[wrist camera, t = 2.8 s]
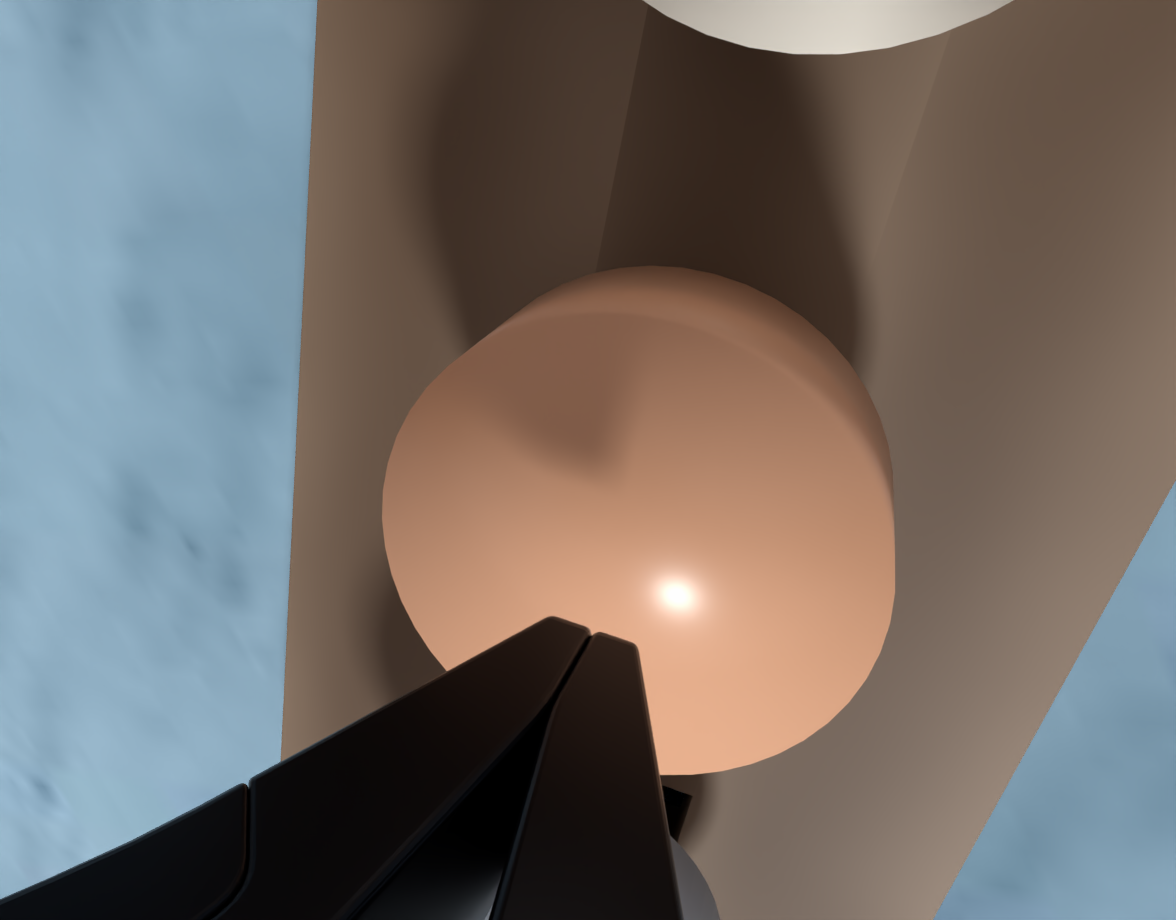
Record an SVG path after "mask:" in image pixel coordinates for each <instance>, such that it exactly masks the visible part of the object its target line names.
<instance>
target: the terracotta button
mask: <svg viewBox="0 0 1176 920" xmlns="http://www.w3.org/2000/svg"><path fill="white" fill-rule="evenodd" d="M382 524H383V533H384V542H385V549H386V553H387V558H388V562H389V566H390V570H391V574H392V577H393V580H394V582H395V585H396V588H397V591H398V593H399V596H400V599H401V601H402V603H403V605H404V607H405V609H406V611H407V613H408V615H409V617H410V619H411V621H412V623H413V625H414V627H415V628H416V630H417V631H418V633H419V635H420V636H421V638H422V639H423V641H424V642H425V644H426V645H427V647H428V648H429V650H430V651H431V653H432V654H433V655H434V656H435V657H436V659H437V660H438V661H439V662H440V664H441V665H442V666H443V667H444V668H445V670H446V671H448V670H450V669H452V668H454V667H456V666H457V665H459V664H461V663H463V662H465V661H467V660H468V659H470V658H472V657H474V656H476V655H478V654H479V653H481V652H483V651H485V650H487V649H489V648H490V647H492V646H494V645H496V644H498V643H500V642H501V641H503V640H505V639H507V638H509V637H511V636H512V635H514V634H516V633H518V632H520V631H522V630H523V629H525V628H527V627H529V626H531V625H533V624H534V623H536V622H538V621H540V620H542V619H544V618H546V617H548V616H557V617H560V618H563V619H566V620H569V621H572V622H574V623H577V624H580V625H583V626H586V627H588V628H589V629H590V630H591V634H592V635H593V634H594V633H596V632H604V633H607V634H610V635H613V636H616V637H619V638H622V639H624V640H627V641H630V642H633V643H634V644H636V646H637V647H638V650H639V654H640V660H641V666H642V672H643V678H644V684H645V690H646V696H647V702H648V708H649V714H650V720H651V726H652V731H653V737H654V743H655V749H656V755H657V761H658V767H659V773H660V775H694V774H703V773H711V772H719V771H725V770H729V769H733V768H737V767H742V766H746V765H750V764H753V763H756V762H758V761H761V760H764V759H766V758H769V757H772V756H774V755H777V754H779V753H781V752H783V751H785V750H787V749H789V748H791V747H792V746H794V745H796V744H798V743H800V742H802V741H804V740H805V739H807V738H808V737H809V736H811V735H812V734H814V733H815V732H816V731H818V730H819V729H820V728H822V727H823V726H825V725H826V724H827V723H829V722H830V721H831V720H832V719H833V718H834V717H835V716H836V715H837V714H838V713H839V712H840V711H841V710H842V709H843V708H844V707H845V706H846V705H847V704H848V703H849V702H850V700H851V699H852V698H853V696H854V695H855V694H856V692H857V691H858V690H859V688H860V687H861V686H862V684H863V683H864V682H865V680H866V679H867V677H868V675H869V673H870V671H871V670H872V668H873V666H874V664H875V662H876V660H877V658H878V656H879V654H880V652H881V649H882V646H883V643H884V640H885V637H886V634H887V631H888V628H889V625H890V621H891V615H892V609H893V602H894V596H895V536H894V492H893V470H892V464H891V457H890V451H889V445H888V442H887V439H886V435H885V432H884V429H883V426H882V422H881V419H880V416H879V414H878V412H877V410H876V408H875V406H874V404H873V402H872V400H871V397H870V395H869V393H868V391H867V389H866V388H865V386H864V385H863V383H862V382H861V380H860V379H859V377H858V376H857V374H856V372H855V371H854V369H853V368H852V366H851V365H850V363H849V362H848V361H847V360H846V359H845V358H844V356H843V355H842V354H841V353H840V352H839V351H838V350H837V349H836V347H835V346H834V345H833V344H832V343H831V342H830V341H829V339H828V338H827V337H825V336H824V335H823V334H822V333H821V332H820V331H818V330H817V329H816V328H815V327H814V326H813V325H812V324H810V323H809V322H808V321H807V320H806V319H805V318H803V317H802V316H801V315H799V314H798V313H796V312H795V311H793V310H792V309H790V308H789V307H787V306H785V305H784V304H782V303H781V302H779V301H778V300H776V299H775V298H773V297H771V296H769V295H767V294H764V293H762V292H760V291H758V290H756V289H754V288H752V287H750V286H748V285H746V284H743V283H740V282H737V281H734V280H731V279H728V278H725V277H722V276H719V275H716V274H713V273H708V272H702V271H697V270H692V269H687V268H681V267H665V266H638V267H624V268H616V269H612V270H607V271H602V272H597V273H593V274H589V275H586V276H583V277H581V278H578V279H575V280H572V281H569V282H567V283H564V284H562V285H560V286H558V287H556V288H554V289H552V290H550V291H548V292H547V293H545V294H543V295H541V296H539V297H537V298H536V299H534V300H533V301H532V302H530V303H529V304H528V305H526V306H525V307H524V308H522V309H521V310H519V311H518V312H517V313H515V314H514V315H513V316H512V317H510V318H509V319H508V320H506V321H505V322H504V323H503V324H501V325H500V326H499V327H497V328H496V329H495V330H494V331H492V332H491V333H490V334H488V335H487V336H486V337H485V338H483V339H482V340H481V341H479V342H478V343H477V344H476V345H474V346H473V347H472V348H470V349H469V350H468V351H467V352H465V353H464V354H463V355H461V356H460V357H459V358H458V359H456V360H455V361H454V362H452V363H451V364H450V365H449V366H447V367H446V368H445V369H444V370H443V371H442V372H441V373H440V374H439V375H438V376H437V377H436V378H435V379H434V380H433V381H432V382H431V383H430V384H429V385H428V386H427V388H426V389H425V390H424V392H423V393H422V395H421V396H420V397H419V399H418V400H417V401H416V403H415V404H414V406H413V407H412V408H411V410H410V411H409V413H408V415H407V417H406V419H405V421H404V423H403V425H402V427H401V429H400V431H399V433H398V435H397V437H396V440H395V443H394V446H393V449H392V452H391V455H390V458H389V461H388V464H387V470H386V476H385V481H384V487H383V503H382Z"/></svg>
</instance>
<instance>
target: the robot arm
mask: <svg viewBox="0 0 1176 920" xmlns="http://www.w3.org/2000/svg"><path fill="white" fill-rule="evenodd" d="M491 907H492V909H491ZM490 909H491V912H490V916H489V919H488V920H684V916H683V910H682V905H681V899H680V893H679V887H678V881H677V875H676V869H675V863H674V857H673V851H672V845H671V839H670V833H669V827H668V821H667V815H666V809H665V803H664V797H663V791H662V785H661V779H660V773H659V767H658V761H657V755H656V749H655V743H654V737H653V731H652V726H651V720H650V714H649V708H648V702H647V696H646V690H645V684H644V678H643V672H642V666H641V660H640V654H639V650H638V647H637V646H636V644H634V643H633V642H630V641H627V640H624V639H622V638H619V637H616V636H613V635H610V634H607V633H604V632H596V633H594V634H593V635H592V634H591V630H590V629H589V628H588V627H586V626H583V625H580V624H577V623H574V622H572V621H569V620H566V619H563V618H560V617H557V616H548V617H546V618H544V619H542V620H540V621H538V622H536V623H534V624H533V625H531V626H529V627H527V628H525V629H523V630H522V631H520V632H518V633H516V634H514V635H512V636H511V637H509V638H507V639H505V640H503V641H501V642H500V643H498V644H496V645H494V646H492V647H490V648H489V649H487V650H485V651H483V652H481V653H479V654H478V655H476V656H474V657H472V658H470V659H468V660H467V661H465V662H463V663H461V664H459V665H457V666H456V667H454V668H452V669H450V670H448V671H446V672H445V673H443V674H441V675H439V676H437V677H435V678H434V679H432V680H430V681H428V682H426V683H424V684H423V685H421V686H419V687H417V688H415V689H413V690H412V691H410V692H408V693H406V694H404V695H402V696H401V697H399V698H397V699H395V700H393V701H391V702H390V703H388V704H386V705H384V706H382V707H380V708H379V709H377V710H375V711H373V712H371V713H369V714H368V715H366V716H364V717H362V718H360V719H358V720H357V721H355V722H353V723H351V724H349V725H347V726H346V727H344V728H342V729H340V730H338V731H336V732H335V733H333V734H331V735H329V736H327V737H325V738H323V739H322V740H320V741H318V742H316V743H314V744H312V745H311V746H309V747H307V748H305V749H303V750H301V751H300V752H298V753H296V754H294V755H292V756H290V757H289V758H287V759H285V760H283V761H281V762H279V763H278V764H276V765H274V766H272V767H270V768H268V769H267V770H265V771H263V772H261V773H259V774H257V775H256V776H254V777H252V778H251V779H250V780H249V785H248V786H247V785H246V784H244V783H241V784H238V785H236V786H235V787H233V788H231V789H229V790H227V791H225V792H224V793H222V794H220V795H218V796H216V797H214V798H213V799H211V800H209V801H207V802H205V803H203V804H202V805H200V806H198V807H196V808H194V809H192V810H190V811H188V812H186V813H184V814H182V815H180V816H178V817H176V818H174V819H172V820H171V821H169V822H167V823H165V824H163V825H161V826H159V827H157V828H155V829H153V830H151V831H149V832H147V833H145V834H143V835H141V836H139V837H137V838H135V839H133V840H132V841H129V842H127V843H125V844H123V845H121V846H118V847H116V848H114V849H112V850H110V851H108V852H105V853H103V854H101V855H99V856H97V857H94V858H92V859H90V860H88V861H86V862H83V863H81V864H79V865H77V866H75V867H73V868H70V869H68V870H66V871H64V872H62V873H59V874H57V875H55V876H53V877H51V878H48V879H46V880H44V881H41V882H39V883H37V884H34V885H32V886H30V887H28V888H25V889H23V890H21V891H18V892H16V893H14V894H11V895H9V896H7V897H4V898H2V899H0V920H485V918H486V916H487V914H488V912H489V910H490Z"/></svg>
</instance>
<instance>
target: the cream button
mask: <svg viewBox="0 0 1176 920" xmlns="http://www.w3.org/2000/svg"><path fill="white" fill-rule="evenodd" d="M643 1H645V2H646V3H648V4H649V5H651V6H652V7H654V8H655V9H657V10H658V11H660V12H661V13H663V14H664V15H666V16H668V17H670V18H672V19H674V20H676V21H678V22H680V23H683V24H685V25H687V26H689V27H691V28H693V29H695V30H698V31H700V32H702V33H704V34H706V35H709V36H713V37H716V38H719V39H723V40H726V41H729V42H733V43H736V44H739V45H743V46H746V47H749V48H756V49H763V50H770V51H776V52H783V53H790V54H847V53H854V52H862V51H869V50H877V49H884V48H890V47H894V46H898V45H901V44H905V43H909V42H913V41H916V40H920V39H924V38H927V37H931V36H935V35H938V34H941V33H943V32H946V31H948V30H951V29H953V28H956V27H958V26H961V25H963V24H966V23H968V22H970V21H973V20H975V19H978V18H980V17H983V16H985V15H988V14H990V13H991V12H993V11H995V10H997V9H999V8H1001V7H1002V6H1004V5H1006V4H1008V3H1010V2H1011V1H1013V0H643Z"/></svg>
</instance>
